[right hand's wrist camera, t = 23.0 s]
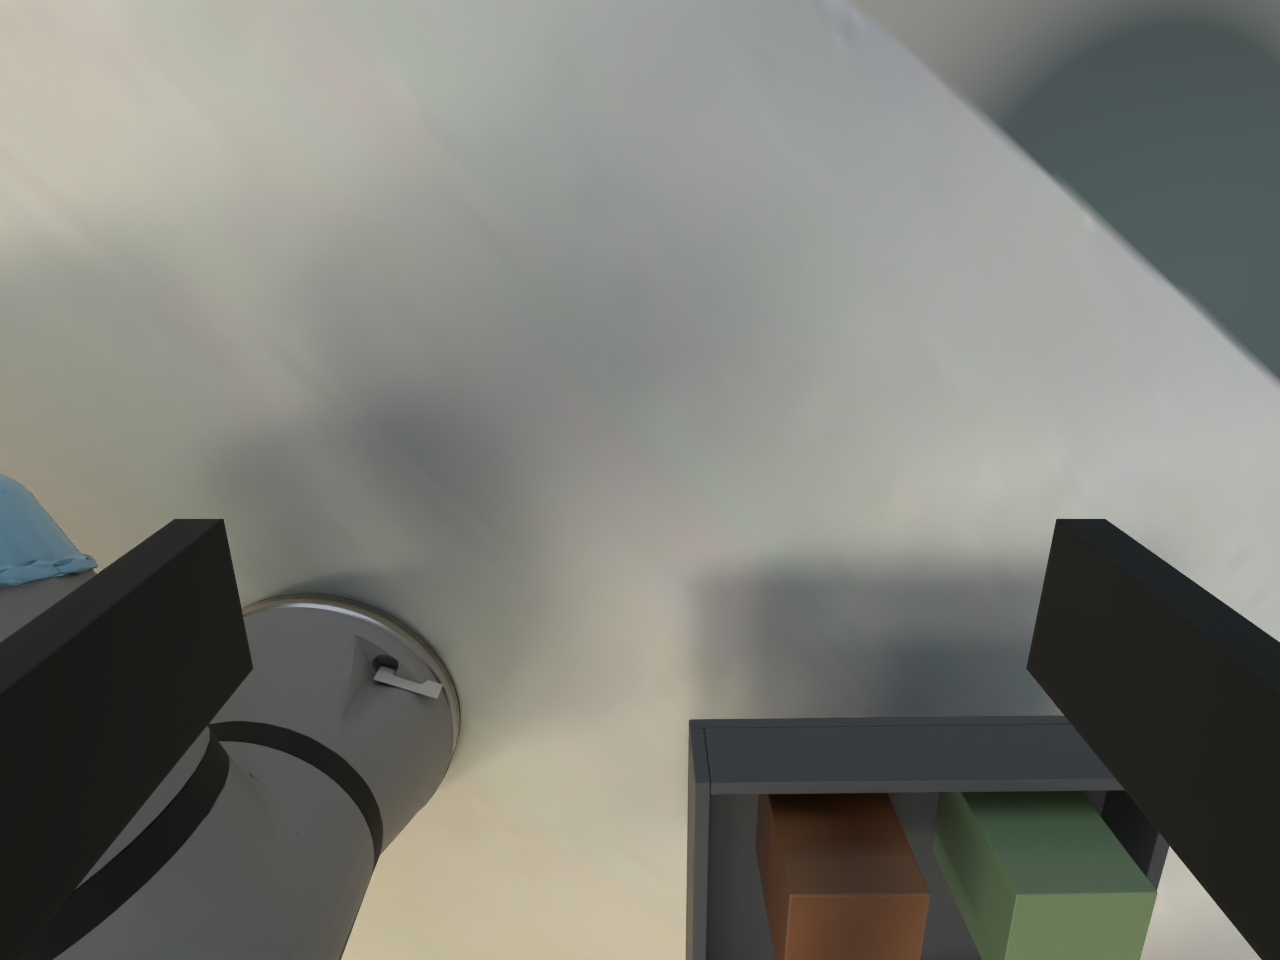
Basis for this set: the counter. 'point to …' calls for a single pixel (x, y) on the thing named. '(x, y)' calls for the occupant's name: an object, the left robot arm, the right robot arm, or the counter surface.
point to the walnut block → (839, 878)
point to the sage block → (1041, 877)
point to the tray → (873, 763)
